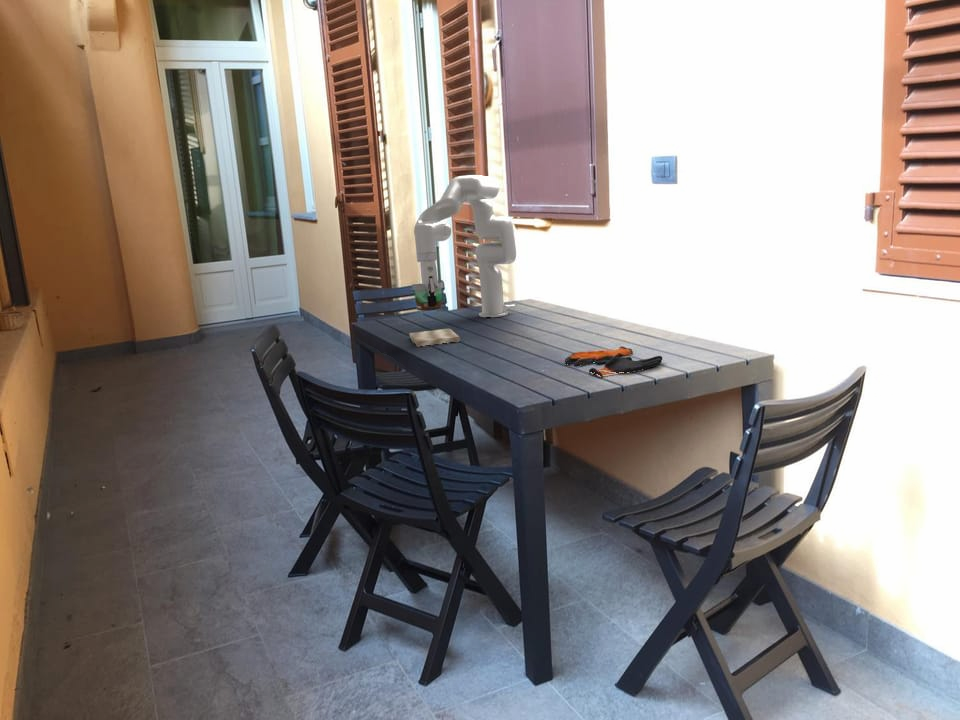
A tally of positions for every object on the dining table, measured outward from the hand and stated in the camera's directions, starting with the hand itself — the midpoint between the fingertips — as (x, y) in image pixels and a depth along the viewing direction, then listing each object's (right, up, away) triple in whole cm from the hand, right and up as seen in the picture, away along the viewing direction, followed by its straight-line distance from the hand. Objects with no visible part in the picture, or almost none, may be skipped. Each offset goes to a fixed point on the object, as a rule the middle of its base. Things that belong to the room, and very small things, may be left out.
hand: (431, 304), depth 296 cm
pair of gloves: (+60, -23, -52) cm, 82 cm away
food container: (0, -2, 0) cm, 2 cm away
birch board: (+1, -13, +3) cm, 14 cm away
